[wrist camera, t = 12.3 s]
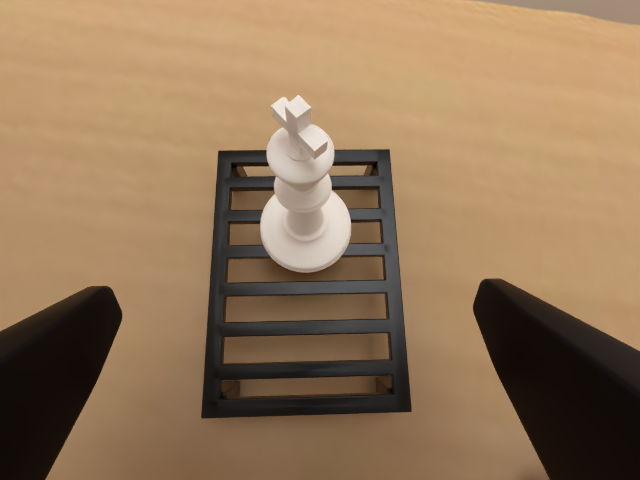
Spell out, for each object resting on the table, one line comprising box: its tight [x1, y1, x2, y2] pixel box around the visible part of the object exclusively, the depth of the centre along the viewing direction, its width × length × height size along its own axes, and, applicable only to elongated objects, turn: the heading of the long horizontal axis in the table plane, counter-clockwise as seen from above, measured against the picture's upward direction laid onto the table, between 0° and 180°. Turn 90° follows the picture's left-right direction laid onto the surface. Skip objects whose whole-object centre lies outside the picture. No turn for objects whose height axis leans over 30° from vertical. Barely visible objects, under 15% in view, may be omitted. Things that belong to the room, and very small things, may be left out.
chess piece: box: [260, 95, 351, 273], centre depth 12 cm, size 5×5×10 cm
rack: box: [201, 149, 412, 418], centre depth 18 cm, size 14×10×4 cm
